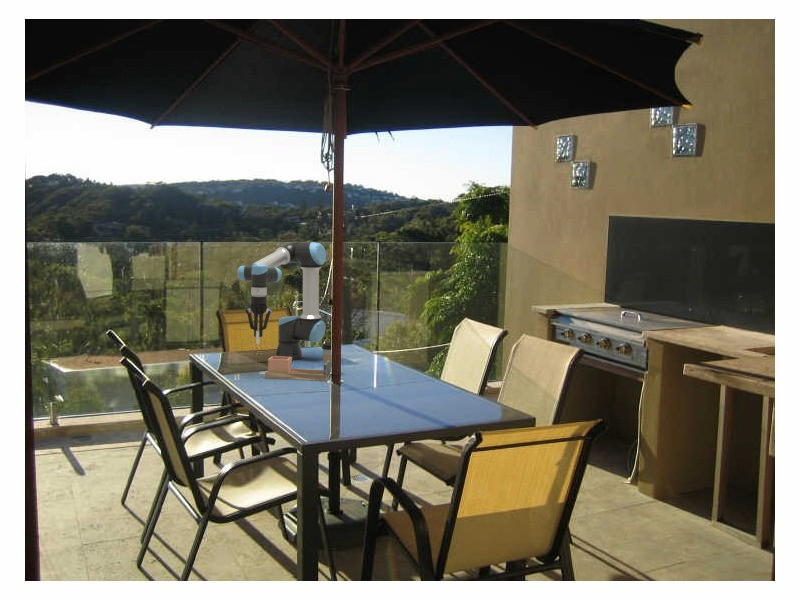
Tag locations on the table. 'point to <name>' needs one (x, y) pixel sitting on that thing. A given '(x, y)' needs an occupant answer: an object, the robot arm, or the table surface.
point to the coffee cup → (327, 353)
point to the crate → (280, 364)
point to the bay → (303, 374)
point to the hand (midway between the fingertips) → (258, 343)
